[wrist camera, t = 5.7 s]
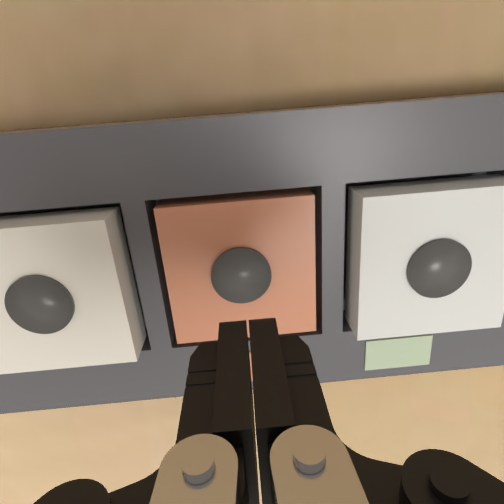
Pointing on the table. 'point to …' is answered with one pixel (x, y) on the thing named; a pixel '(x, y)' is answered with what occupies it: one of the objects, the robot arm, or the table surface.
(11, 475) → the table surface
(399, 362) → the grey flat board
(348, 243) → the key white
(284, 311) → the key terracotta
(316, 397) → the robot arm
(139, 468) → the table surface
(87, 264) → the key cream
